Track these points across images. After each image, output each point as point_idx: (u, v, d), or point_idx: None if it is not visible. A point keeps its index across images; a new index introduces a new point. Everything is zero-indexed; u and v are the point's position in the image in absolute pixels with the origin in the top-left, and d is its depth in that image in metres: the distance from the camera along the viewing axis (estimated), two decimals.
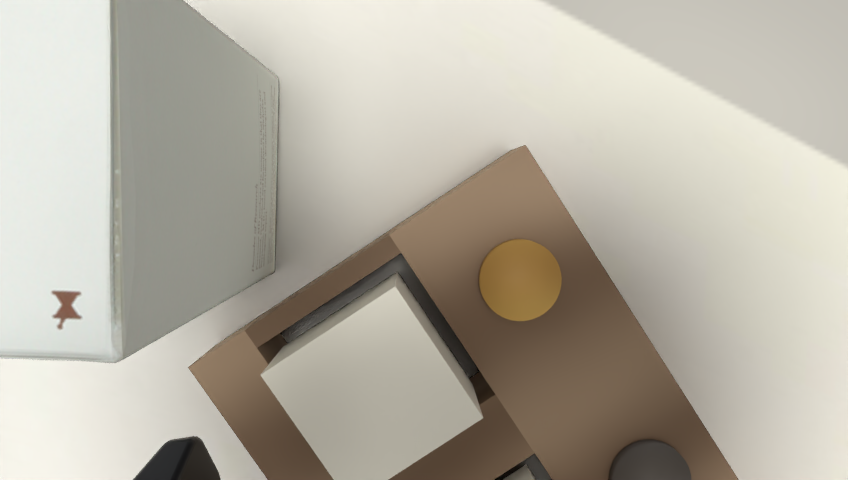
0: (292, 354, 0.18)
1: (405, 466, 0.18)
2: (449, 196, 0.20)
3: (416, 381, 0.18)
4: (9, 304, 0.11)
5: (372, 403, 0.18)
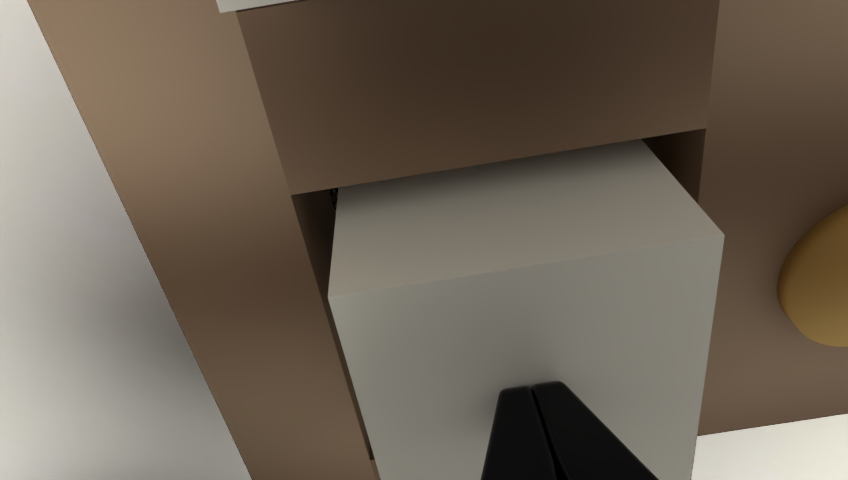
0: None
1: None
2: None
3: None
4: None
5: None
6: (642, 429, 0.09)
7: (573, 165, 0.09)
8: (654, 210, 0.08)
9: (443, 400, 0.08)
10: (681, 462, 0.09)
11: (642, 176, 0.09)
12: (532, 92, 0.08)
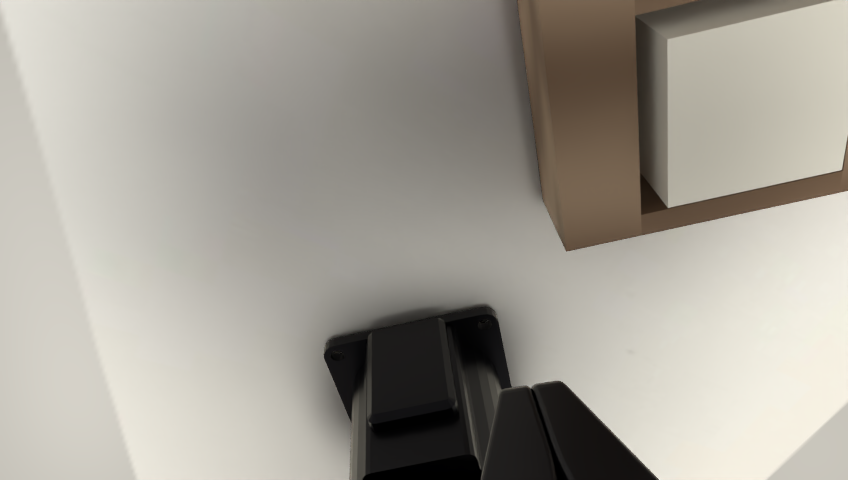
0: None
1: None
2: None
3: None
4: None
5: None
6: (818, 127, 0.16)
7: None
8: None
9: (712, 108, 0.15)
10: (838, 152, 0.16)
11: None
12: None
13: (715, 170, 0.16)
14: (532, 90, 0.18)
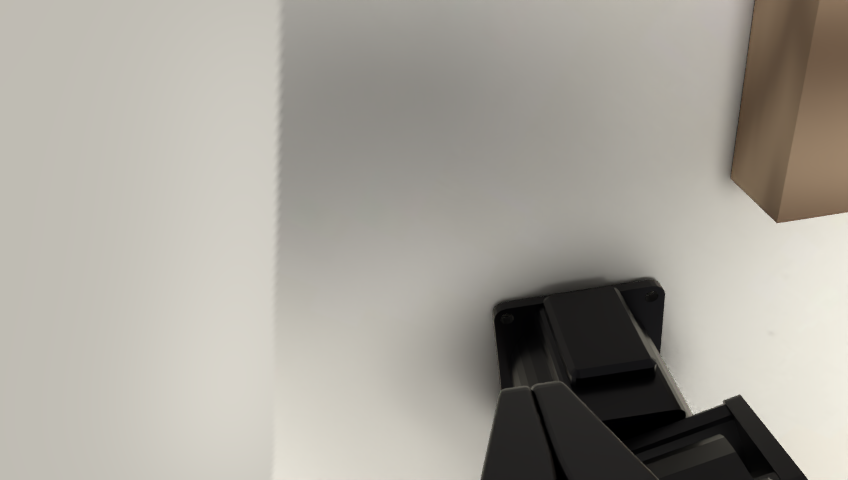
0: None
1: None
2: None
3: None
4: None
5: None
6: None
7: None
8: None
9: None
10: None
11: None
12: None
13: None
14: (758, 69, 0.19)
